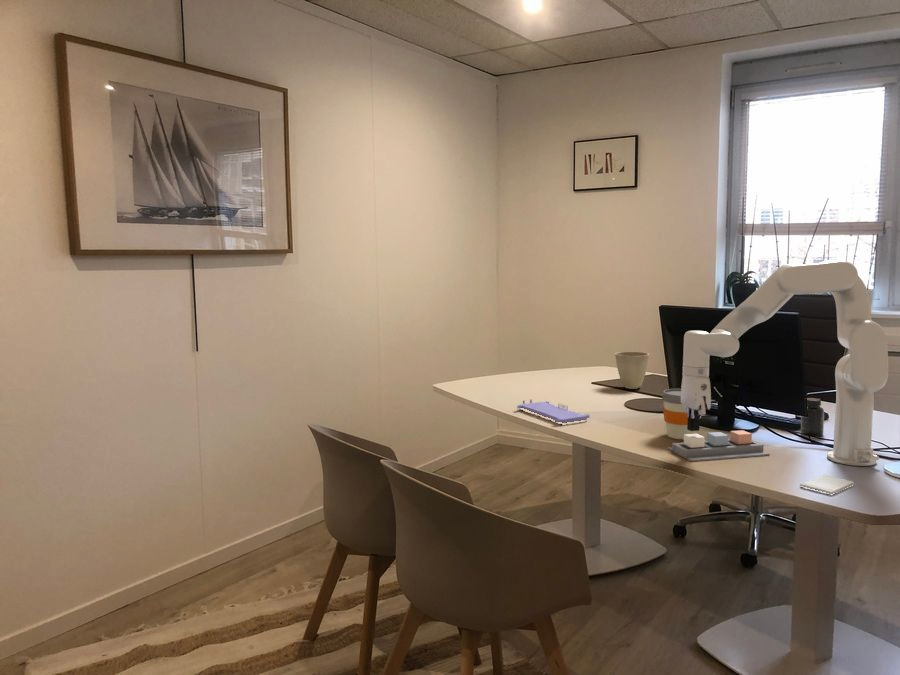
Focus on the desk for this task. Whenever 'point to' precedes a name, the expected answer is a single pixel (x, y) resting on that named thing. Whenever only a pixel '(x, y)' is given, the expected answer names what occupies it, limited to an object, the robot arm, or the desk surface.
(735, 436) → the terracotta key
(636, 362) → the plant pot
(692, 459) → the tray
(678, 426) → the reusable coffee cup
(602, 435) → the desk surface
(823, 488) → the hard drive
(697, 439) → the ivory key
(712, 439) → the slate key
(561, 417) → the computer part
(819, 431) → the supplement bottle
